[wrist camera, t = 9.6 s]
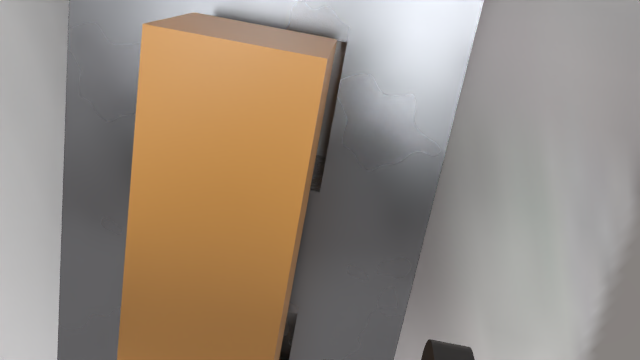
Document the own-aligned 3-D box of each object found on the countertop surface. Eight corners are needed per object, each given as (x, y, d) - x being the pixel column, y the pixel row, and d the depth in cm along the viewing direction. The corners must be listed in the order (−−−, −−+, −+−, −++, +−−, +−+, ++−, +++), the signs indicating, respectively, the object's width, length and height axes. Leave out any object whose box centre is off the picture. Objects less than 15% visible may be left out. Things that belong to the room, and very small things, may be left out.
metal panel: (144, -157, 16) (75, -197, 12) (479, -97, 16) (513, -119, 12) (107, 394, 22) (53, 481, 18) (351, 442, 22) (347, 540, 18)
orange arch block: (234, 3, 16) (142, 23, 10) (344, 24, 16) (327, 58, 10) (191, 347, 20) (103, 532, 13) (282, 364, 20) (238, 559, 13)
